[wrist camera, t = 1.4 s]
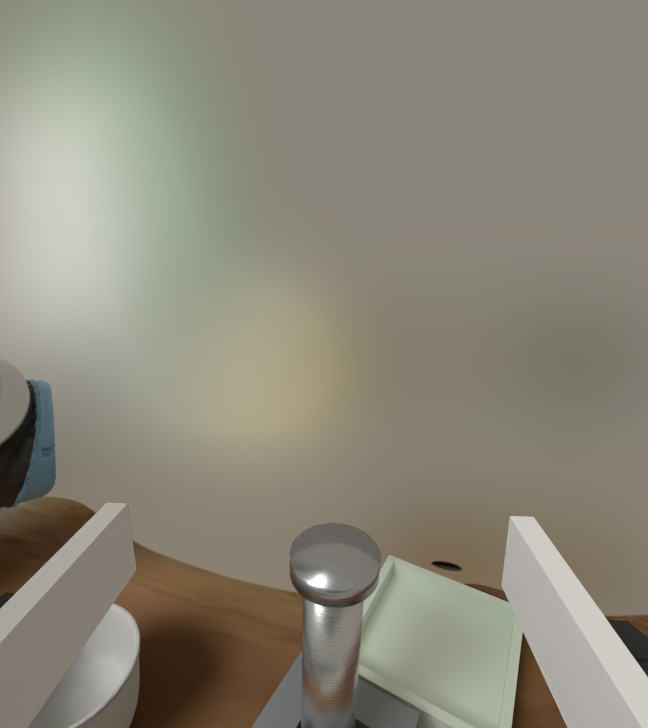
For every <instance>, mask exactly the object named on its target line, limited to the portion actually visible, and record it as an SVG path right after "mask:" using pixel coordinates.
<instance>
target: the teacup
mask: <svg viewBox="0 0 648 728" xmlns="http://www.w3.org/2000/svg"><path fill="white" fill-rule="evenodd" d="M139 652H140V632H139V628H138V625H137V623H136V621H135V619H134V618H133V616H132V615H131V614H130V613H129V612H128V611H127V610H126V609H124V608H122V607H120V606H118V605H116V604H113V605H112V606H111V607H110V609H109V610H108V612H107V613H106V615H105V616H104V618H103V619H102V621H101V622H100V623H99V625H98V626H97V628H96V629H95V631H94V632H93V634H92V635H91V637H90V638H89V639H88V641H87V642H86V644H85V645H84V647H83V648H82V650H81V651H80V652H79V654H78V655H77V657H76V658H75V660H74V661H73V663H72V664H71V666H70V667H69V668H68V670H67V671H66V673H65V674H64V676H63V677H62V679H61V680H60V682H59V683H58V684H57V686H56V687H55V689H54V690H53V692H52V693H51V695H50V696H49V698H48V699H47V700H46V702H45V703H44V705H43V706H42V708H41V709H40V711H39V712H38V714H37V715H36V716H35V718H34V719H33V721H32V722H31V724H30V725H29V727H28V728H129V727H130V725H131V722H132V719H133V716H134V714H135V710H136V706H137V701H138V694H139V679H140V671H139Z"/></svg>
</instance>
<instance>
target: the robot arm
mask: <svg viewBox="0 0 648 728" xmlns="http://www.w3.org/2000/svg"><path fill="white" fill-rule="evenodd" d="M54 437H55V436H54V418H53V404H52V394H51V388H50V386H49V384H48V383H47V382H45V381H35V380H33V379H32V380H25V379H24V377H23V375H22V374H21V373H20V372H19V371H18V370H17V369H16V368H15V367H14V366H12V365H11V364H9V363H8V362H6V361H4V360H2V359H0V508H2V507H6V508H10V507H15V506H16V505H18V504H19V503H22V502H25V501H29V500H32V499H36V498H40V497H42V496H44V495H46V494H47V493H49V492H50V491H51V489H52V488H53V486H54V484H55V478H56V462H55V449H54V446H55V442H54ZM135 571H136V563H135V556H134V548H133V540H132V533H131V525H130V517H129V510H128V503H106V504H105V505H104V506H103V507H102V508H101V509H100V510H99V511H98V512H97V513H96V514H95V515H94V516H93V517H92V518H91V519H90V520H89V521H88V522H87V523H86V524H85V525H84V526H83V527H82V528H81V529H80V530H79V531H78V532H77V533H76V534H75V535H74V536H73V537H72V538H71V539H70V540H69V541H68V542H67V543H66V544H65V545H64V546H63V547H62V548H61V549H60V550H59V551H58V552H57V553H56V554H55V555H54V556H53V557H52V558H51V559H50V560H49V561H48V562H47V563H46V564H45V565H44V566H43V567H42V568H41V569H40V570H39V571H38V572H37V573H36V574H35V575H34V576H33V577H32V578H31V579H30V580H29V581H28V582H27V583H26V584H25V585H24V586H23V587H21V588H20V589H19V590H18V591H17V592H16V593H5V594H4V595H2V596H1V597H0V728H28V727H29V725H30V724H31V722H32V721H33V719H34V718H35V716H36V715H37V714H38V712H39V711H40V709H41V708H42V706H43V705H44V703H45V702H46V700H47V699H48V698H49V696H50V695H51V693H52V692H53V690H54V689H55V687H56V686H57V684H58V683H59V682H60V680H61V679H62V677H63V676H64V674H65V673H66V671H67V670H68V668H69V667H70V666H71V664H72V663H73V661H74V660H75V658H76V657H77V655H78V654H79V652H80V651H81V650H82V648H83V647H84V645H85V644H86V642H87V641H88V639H89V638H90V637H91V635H92V634H93V632H94V631H95V629H96V628H97V626H98V625H99V623H100V622H101V621H102V619H103V618H104V616H105V615H106V613H107V612H108V610H109V609H110V607H111V606H112V605H113V603H114V602H115V600H116V599H117V597H118V596H119V594H120V593H121V591H122V590H123V589H124V587H125V586H126V584H127V583H128V581H129V580H130V578H131V577H132V575H133V574H134V573H135ZM502 588H503V590H504V592H505V594H506V596H507V599H508V601H509V603H510V605H511V607H512V609H513V611H514V614H515V616H516V618H517V620H518V622H519V624H520V627H521V629H522V631H523V633H524V635H525V637H526V639H527V642H528V644H529V646H530V648H531V650H532V652H533V655H534V657H535V659H536V661H537V663H538V665H539V667H540V670H541V672H542V674H543V676H544V678H545V680H546V682H547V685H548V687H549V689H550V691H551V693H552V695H553V698H554V700H555V702H556V704H557V706H558V708H559V710H560V713H561V715H562V717H563V719H564V721H565V723H566V726H567V728H648V637H646V636H645V635H644V634H643V633H641V632H640V631H639V630H638V629H637V628H635V627H634V626H633V625H632V624H630V623H629V622H628V621H612V620H607V619H606V618H605V616H604V615H603V614H602V612H601V611H600V610H599V608H598V607H597V605H596V604H595V603H594V601H593V600H592V598H591V597H590V595H589V594H588V593H587V591H586V590H585V589H584V587H583V586H582V585H581V583H580V582H579V580H578V579H577V577H576V576H575V575H574V573H573V572H572V570H571V569H570V567H569V566H568V565H567V563H566V562H565V560H564V559H563V558H562V556H561V555H560V553H559V552H558V550H557V549H556V548H555V546H554V545H553V544H552V542H551V541H550V539H549V538H548V536H547V535H546V534H545V532H544V531H543V530H542V528H541V527H540V525H539V524H538V523H537V521H536V520H535V518H534V517H523V516H510V520H509V528H508V536H507V544H506V552H505V561H504V569H503V577H502Z"/></svg>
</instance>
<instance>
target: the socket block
mask: <svg viewBox="0 0 648 728" xmlns="http://www.w3.org/2000/svg"><path fill="white" fill-rule="evenodd" d="M301 697H302V651H301V652H300V654H299V656H298V657H297V659H296V660H295V662H294V663H293V665H292V666H291V668H290V669H289V671H288V672H287V674H286V675H285V677H284V679H283V680H282V682H281V683H280V685H279V686H278V688H277V689H276V691H275V692H274V694H273V695H272V697H271V698H270V700H269V701H268V703H267V705H266V706H265V708H264V709H263V711H262V712H261V714H260V715H259V717H258V718H257V720H256V721H255V723H254V724H253V726H252V728H301ZM419 718H420V713H419V712H417V711H415V710H414V709H412V708H410V707H408V706H406V705H405V704H403V703H401V702H399V701H398V700H396V699H394V698H392V697H390V696H389V695H387V694H385V693H383V692H382V691H380V690H378V689H376V688H375V687H373V686H371V685H369V684H367V683H366V682H364V681H362V680H360V679H359V678H358V687H357V701H356V715H355V728H418V725H419Z"/></svg>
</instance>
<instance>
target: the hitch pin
mask: <svg viewBox="0 0 648 728" xmlns="http://www.w3.org/2000/svg"><path fill="white" fill-rule="evenodd" d="M380 562H381V556H380V551H379V548H378V546H377V544H376V543H375V541H374V540H373V539H372V538H371V537H370V536H369V535H367V534H366V533H365V532H363V531H361V530H359V529H357V528H355V527H352V526H348V525H344V524H335V523H329V524H321V525H317V526H314V527H311V528H309V529H307V530H305V531H304V532H302V533H301V534H300V535H299V536H298V537H297V538H296V539H295V540H294V542H293V544H292V546H291V549H290V577H291V581H292V584H293V585H294V587H295V588H296V590H297V591H298V592H299V593H300V594H301V595H302V596H303V637H302V697H301V728H355V715H356V701H357V687H358V673H359V658H360V644H361V630H362V616H363V601H364V600H366V599H367V598H368V597H370V595H371V594H372V593H373V592H374V591H375V589H376V587H377V585H378V582H379V574H380Z"/></svg>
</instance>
